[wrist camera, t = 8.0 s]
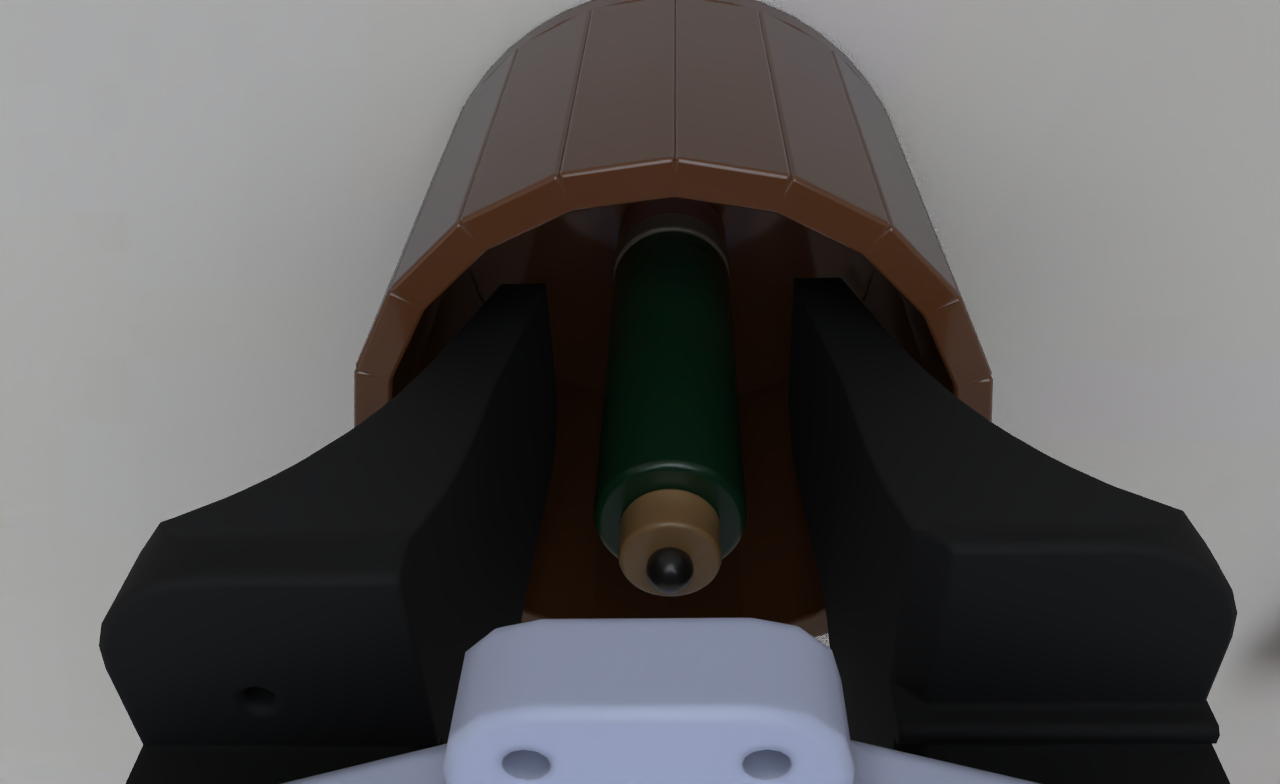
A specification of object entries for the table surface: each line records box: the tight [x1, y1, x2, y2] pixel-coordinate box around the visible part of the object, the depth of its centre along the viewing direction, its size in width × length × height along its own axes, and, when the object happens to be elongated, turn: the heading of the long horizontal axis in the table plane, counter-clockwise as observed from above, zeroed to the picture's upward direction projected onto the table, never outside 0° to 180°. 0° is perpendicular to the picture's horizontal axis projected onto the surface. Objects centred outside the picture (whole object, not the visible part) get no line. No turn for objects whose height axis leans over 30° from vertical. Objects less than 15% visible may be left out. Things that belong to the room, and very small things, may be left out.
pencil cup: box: [354, 0, 993, 637], centre depth 16 cm, size 8×8×6 cm
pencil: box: [594, 197, 747, 596], centre depth 14 cm, size 2×2×8 cm
